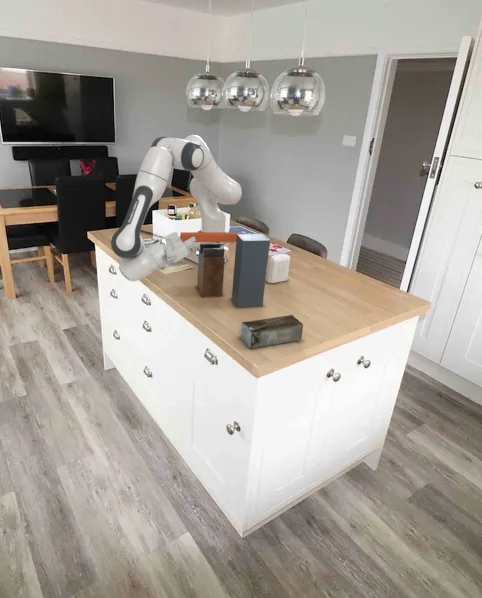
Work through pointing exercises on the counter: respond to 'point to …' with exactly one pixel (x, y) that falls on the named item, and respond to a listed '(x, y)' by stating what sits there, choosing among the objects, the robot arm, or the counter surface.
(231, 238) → the orange bar
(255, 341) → the beverage carton
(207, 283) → the wood grain post
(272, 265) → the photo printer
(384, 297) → the counter surface
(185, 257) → the robot arm
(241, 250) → the stand
